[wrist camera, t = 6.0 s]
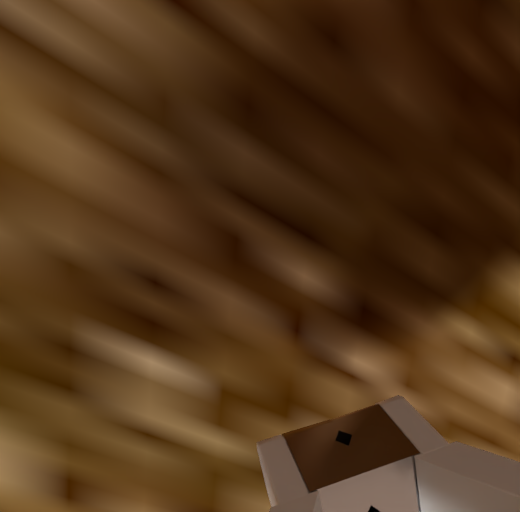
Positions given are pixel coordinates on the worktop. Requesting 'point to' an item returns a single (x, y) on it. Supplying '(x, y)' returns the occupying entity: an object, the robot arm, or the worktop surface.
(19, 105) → the worktop surface
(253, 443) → the worktop surface
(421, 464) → the robot arm
